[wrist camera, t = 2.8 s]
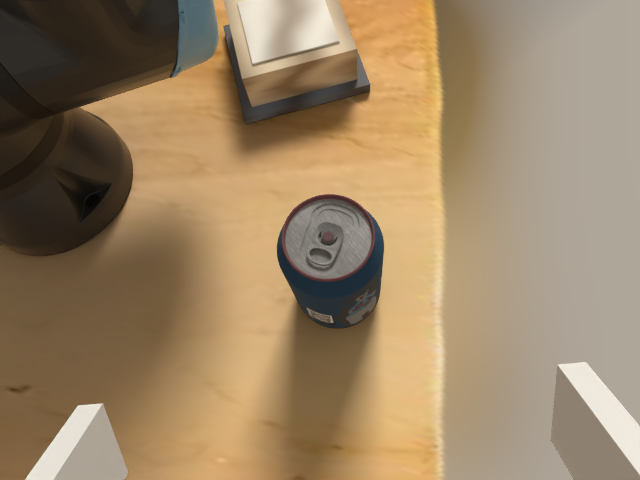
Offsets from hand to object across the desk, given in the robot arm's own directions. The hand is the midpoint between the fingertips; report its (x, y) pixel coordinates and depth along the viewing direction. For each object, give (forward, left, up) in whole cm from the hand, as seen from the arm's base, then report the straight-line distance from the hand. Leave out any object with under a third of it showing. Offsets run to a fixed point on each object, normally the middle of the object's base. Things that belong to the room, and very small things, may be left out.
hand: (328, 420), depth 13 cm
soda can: (+2, +11, -23) cm, 26 cm away
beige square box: (+4, +37, -23) cm, 43 cm away
